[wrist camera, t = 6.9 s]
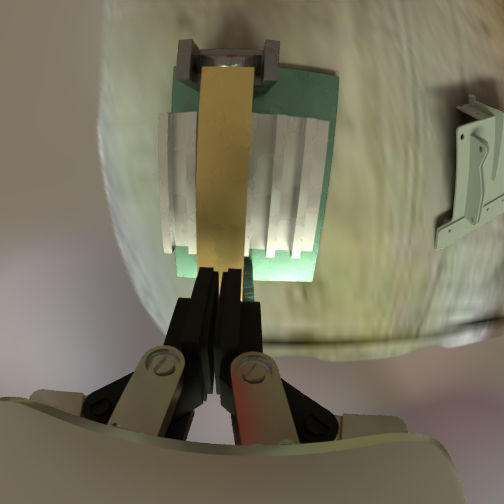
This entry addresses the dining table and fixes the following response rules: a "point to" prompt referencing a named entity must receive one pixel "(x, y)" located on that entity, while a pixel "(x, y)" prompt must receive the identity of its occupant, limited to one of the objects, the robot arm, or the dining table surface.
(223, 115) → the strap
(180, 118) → the heatsink
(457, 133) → the metal bracket
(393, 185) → the dining table surface
